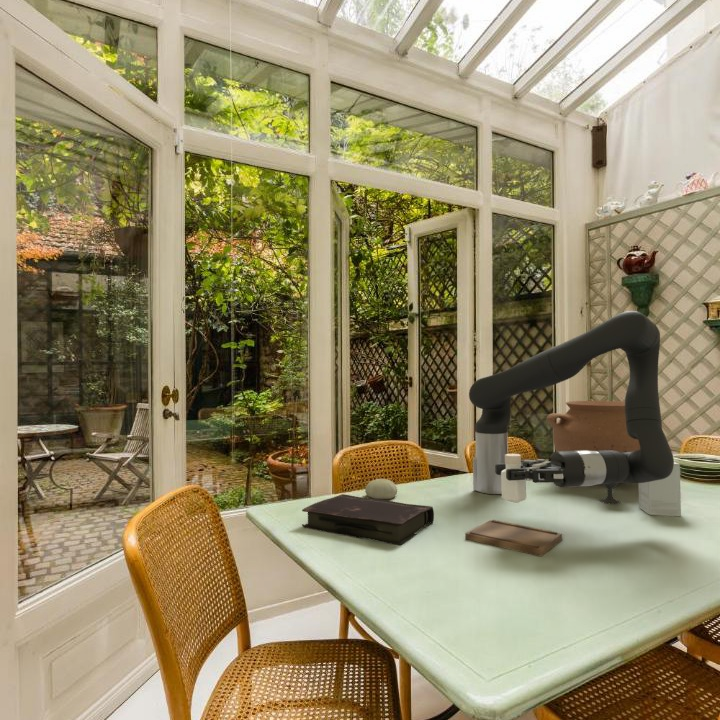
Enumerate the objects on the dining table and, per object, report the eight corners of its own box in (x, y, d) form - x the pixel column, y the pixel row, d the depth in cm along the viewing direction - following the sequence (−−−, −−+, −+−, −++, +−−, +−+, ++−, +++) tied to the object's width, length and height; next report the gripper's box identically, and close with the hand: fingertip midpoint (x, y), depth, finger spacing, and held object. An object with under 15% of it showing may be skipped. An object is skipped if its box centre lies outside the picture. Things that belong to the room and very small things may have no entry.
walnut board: (465, 538, 107) (465, 531, 107) (490, 525, 116) (490, 518, 116) (541, 556, 96) (541, 548, 96) (562, 539, 106) (561, 532, 106)
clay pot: (589, 498, 139) (587, 407, 140) (528, 476, 168) (527, 401, 169) (691, 490, 147) (689, 404, 148) (616, 470, 176) (615, 399, 177)
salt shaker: (510, 497, 109) (508, 452, 109) (527, 500, 106) (526, 454, 106) (500, 500, 106) (499, 455, 106) (518, 503, 103) (516, 457, 104)
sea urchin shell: (403, 487, 146) (396, 471, 141) (396, 511, 141) (389, 495, 136) (374, 484, 150) (366, 468, 145) (366, 508, 145) (358, 492, 140)
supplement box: (682, 516, 121) (680, 463, 122) (648, 515, 123) (647, 463, 123) (669, 508, 129) (668, 458, 129) (638, 507, 130) (637, 457, 130)
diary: (343, 511, 131) (343, 492, 131) (434, 526, 118) (434, 504, 118) (299, 530, 115) (299, 508, 115) (399, 549, 102) (398, 524, 102)
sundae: (621, 499, 138) (620, 444, 138) (625, 505, 131) (624, 447, 132) (595, 497, 140) (594, 443, 140) (598, 503, 134) (596, 446, 134)
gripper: (558, 446, 115) (487, 449, 113) (596, 456, 101) (515, 459, 99) (560, 479, 115) (488, 482, 113) (597, 493, 101) (516, 498, 99)
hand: (501, 472), depth 106 cm, fingers closed on salt shaker, 5 cm apart
